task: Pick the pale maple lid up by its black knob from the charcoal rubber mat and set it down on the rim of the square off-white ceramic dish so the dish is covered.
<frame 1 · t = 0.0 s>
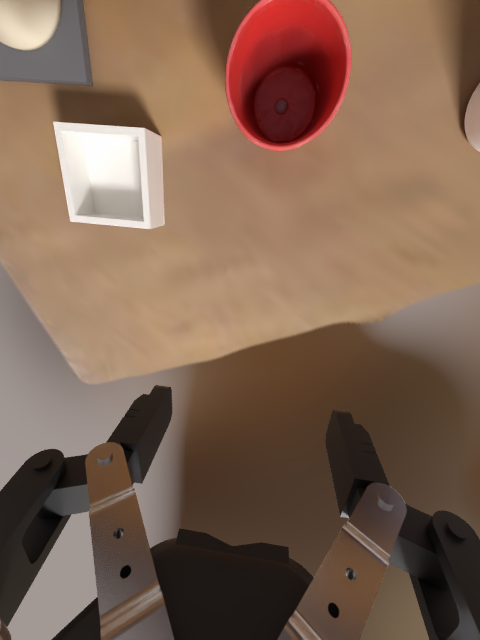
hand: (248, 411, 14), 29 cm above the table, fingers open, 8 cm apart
dish: (125, 180, 37), on the table
flower pot: (282, 108, 32), on the table
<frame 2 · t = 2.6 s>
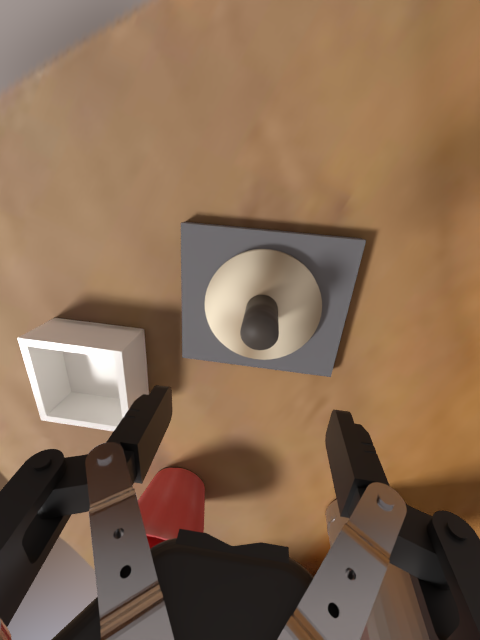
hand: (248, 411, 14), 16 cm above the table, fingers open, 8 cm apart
dish: (104, 362, 33), on the table
lid: (262, 306, 27), point 1 cm above the table, touching mat
mat: (262, 302, 28), on the table
flower pot: (180, 482, 41), on the table
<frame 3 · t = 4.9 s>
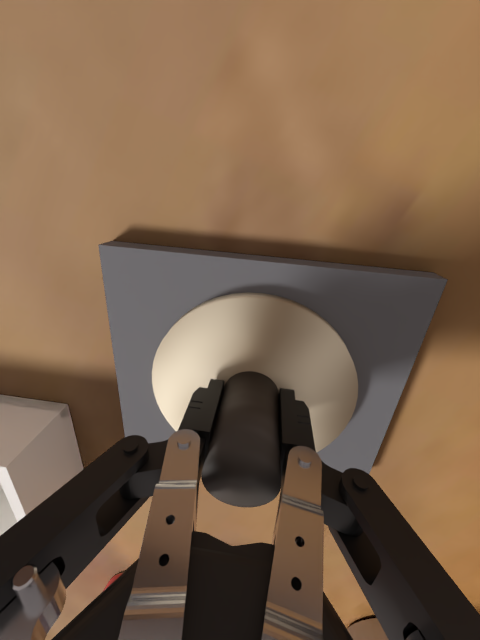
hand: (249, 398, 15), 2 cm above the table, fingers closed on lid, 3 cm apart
dish: (17, 446, 22), on the table
lid: (251, 385, 16), point 1 cm above the table, touching gripper, mat
mat: (252, 372, 17), on the table
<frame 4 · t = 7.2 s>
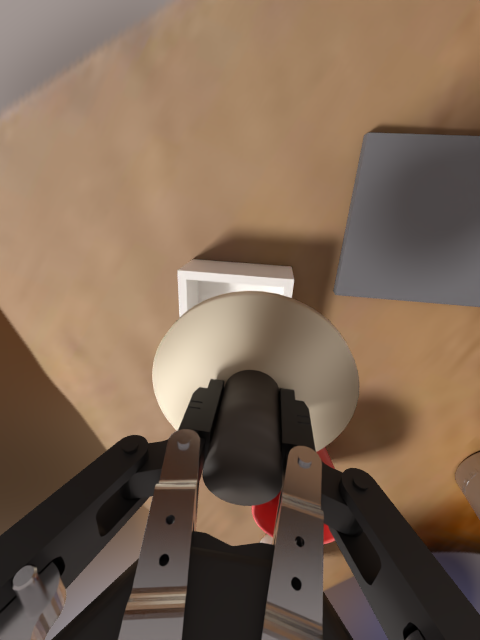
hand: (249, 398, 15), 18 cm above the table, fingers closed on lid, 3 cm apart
dish: (238, 308, 32), on the table
lid: (252, 383, 16), point 16 cm above the table, touching gripper
mat: (434, 227, 26), on the table
flower pot: (295, 444, 39), on the table
when the fingers open (7 cm above the table, at t = 9.6 s): lid drops 1 cm, resting on dish.
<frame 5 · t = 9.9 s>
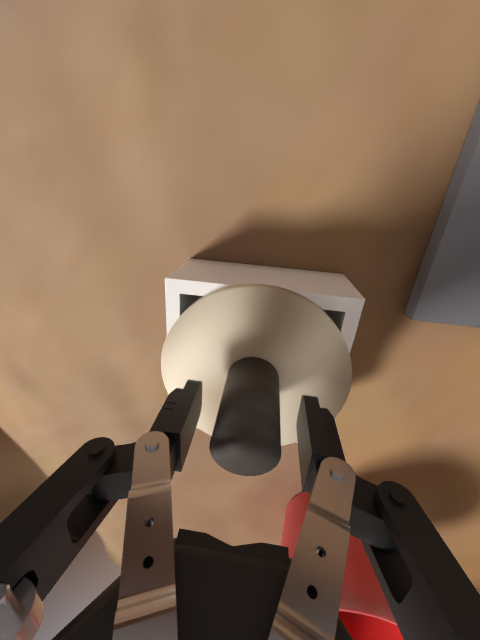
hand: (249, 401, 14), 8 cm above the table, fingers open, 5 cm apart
dish: (257, 333, 21), on the table
lid: (253, 370, 17), point 5 cm above the table, touching dish
flower pot: (322, 509, 29), on the table
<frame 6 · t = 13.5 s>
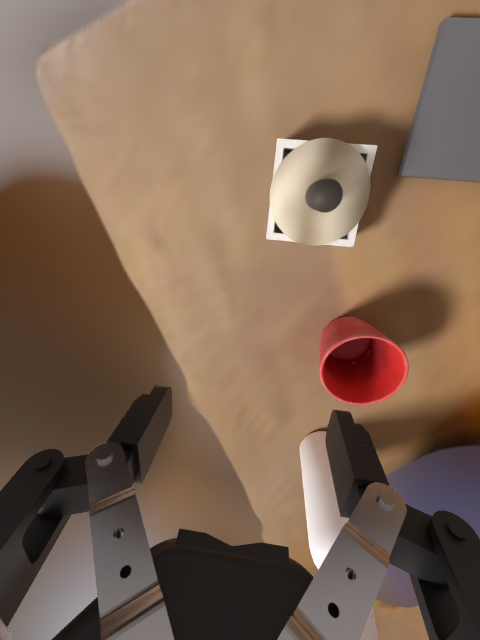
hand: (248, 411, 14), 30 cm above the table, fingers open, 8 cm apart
alcohol: (321, 444, 54), on the table
dish: (311, 195, 36), on the table
lid: (317, 195, 32), point 5 cm above the table, touching dish
flower pot: (345, 336, 44), on the table
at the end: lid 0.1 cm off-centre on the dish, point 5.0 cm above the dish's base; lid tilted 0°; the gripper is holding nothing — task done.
